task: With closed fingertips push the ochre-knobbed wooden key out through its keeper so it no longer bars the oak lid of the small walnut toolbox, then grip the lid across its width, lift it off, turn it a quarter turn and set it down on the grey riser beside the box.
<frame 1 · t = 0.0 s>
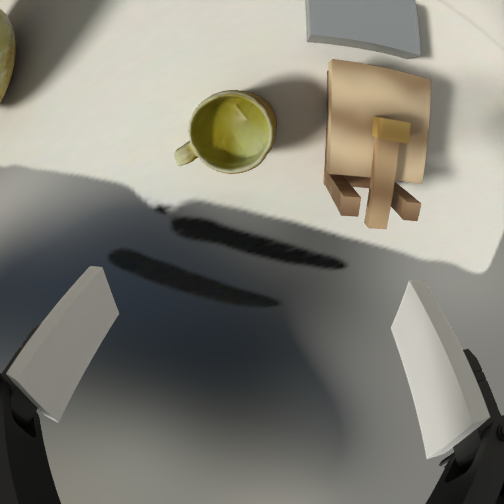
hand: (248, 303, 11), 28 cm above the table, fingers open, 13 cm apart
riser: (358, 20, 23), on the table
speckled ball: (3, 69, 26), on the table
toolbox: (360, 117, 31), on the table
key: (385, 176, 24), point 11 cm above the table, slide at 0.0 cm
lid: (377, 121, 25), point 7 cm above the table, touching toolbox
mug: (230, 130, 34), on the table
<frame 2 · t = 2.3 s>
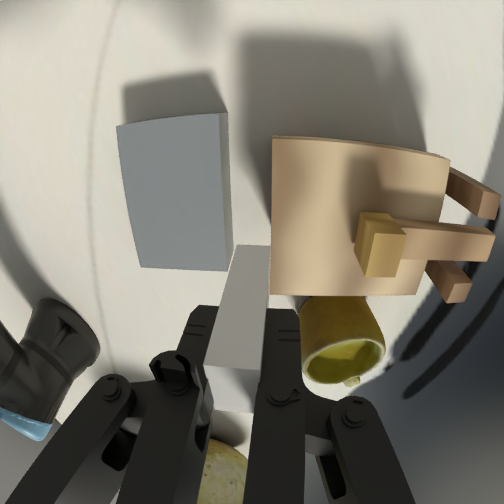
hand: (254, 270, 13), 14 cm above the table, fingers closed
riser: (185, 186, 26), on the table
speckled ball: (208, 440, 59), on the table
toolbox: (336, 188, 25), on the table
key: (439, 246, 15), point 11 cm above the table, slide at 0.0 cm
lid: (354, 217, 19), point 7 cm above the table, touching toolbox
mug: (335, 320, 33), on the table
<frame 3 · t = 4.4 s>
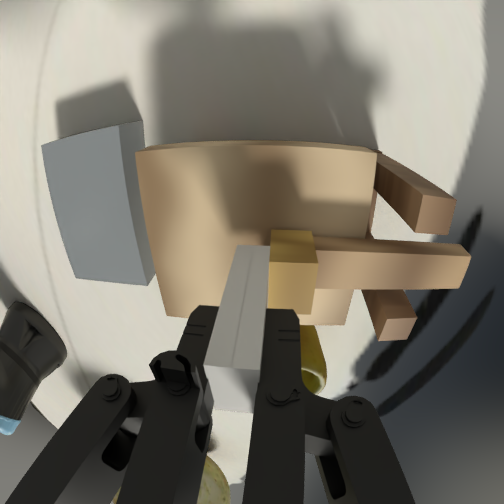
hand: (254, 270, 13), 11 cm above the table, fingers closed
riser: (111, 198, 24), on the table
speckled ball: (180, 444, 57), on the table
toolbox: (262, 195, 22), on the table
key: (383, 273, 13), point 11 cm above the table, slide at 1.5 cm, touching gripper
lid: (255, 232, 16), point 7 cm above the table, touching toolbox
mug: (282, 337, 31), on the table
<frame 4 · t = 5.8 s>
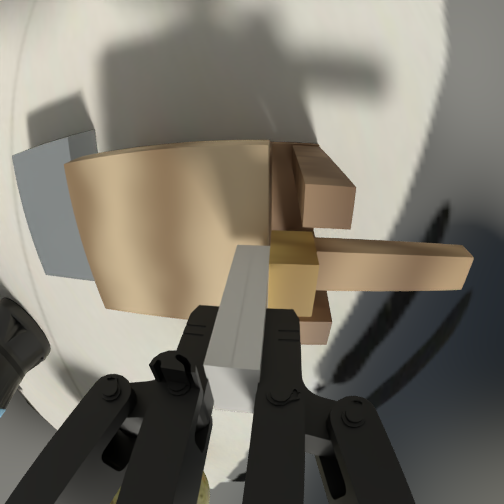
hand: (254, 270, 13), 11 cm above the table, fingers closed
riser: (73, 201, 24), on the table
speckled ball: (163, 440, 58), on the table
toolbox: (200, 195, 23), on the table
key: (385, 274, 12), point 11 cm above the table, slide at 6.7 cm, touching gripper
lid: (172, 231, 17), point 7 cm above the table, touching toolbox
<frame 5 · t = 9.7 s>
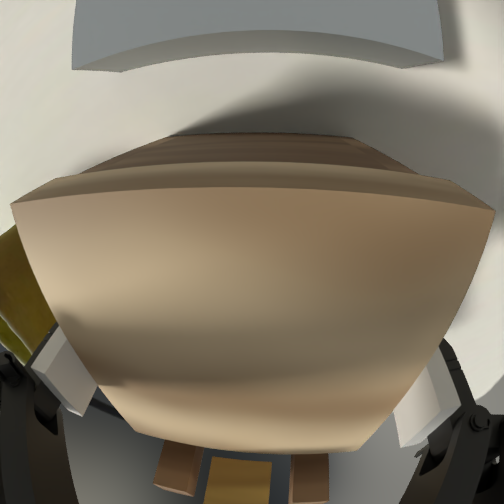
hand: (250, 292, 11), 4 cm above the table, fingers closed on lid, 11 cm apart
toolbox: (258, 245, 15), on the table
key: (243, 499, 12), point 11 cm above the table, slide at 6.7 cm
lid: (242, 345, 9), point 7 cm above the table, touching gripper, toolbox
mug: (50, 264, 18), on the table
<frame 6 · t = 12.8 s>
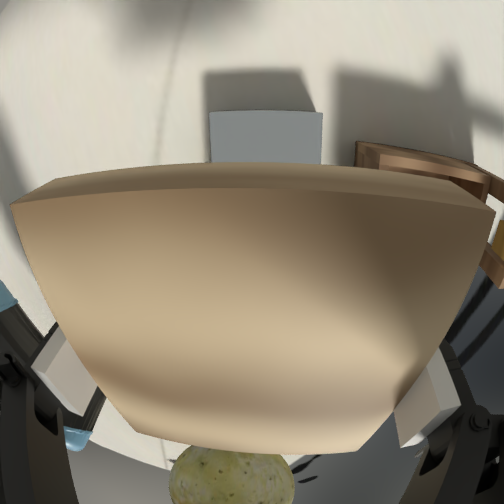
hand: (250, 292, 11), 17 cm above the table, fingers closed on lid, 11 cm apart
riser: (267, 180, 26), on the table
speckled ball: (238, 437, 60), on the table
toolbox: (404, 190, 25), on the table
lid: (242, 345, 9), point 20 cm above the table, touching gripper
when the fingers open (2 cm above the table, at t = 16.0 s): lid stays where it is, resting on riser.
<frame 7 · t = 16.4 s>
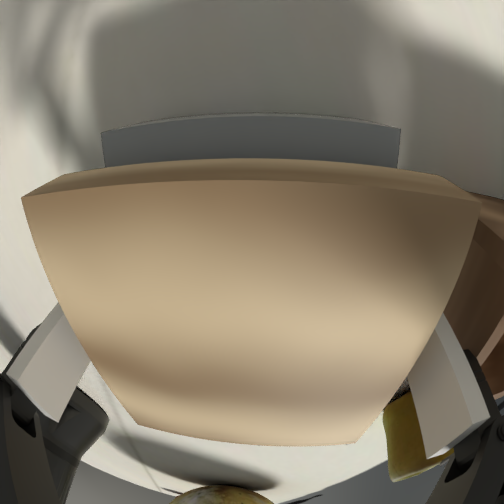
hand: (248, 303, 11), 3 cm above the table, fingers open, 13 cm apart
riser: (255, 260, 14), on the table
speckled ball: (231, 485, 47), on the table
toolbox: (484, 266, 12), on the table
lid: (242, 335, 9), point 5 cm above the table, touching riser
mug: (420, 402, 21), on the table
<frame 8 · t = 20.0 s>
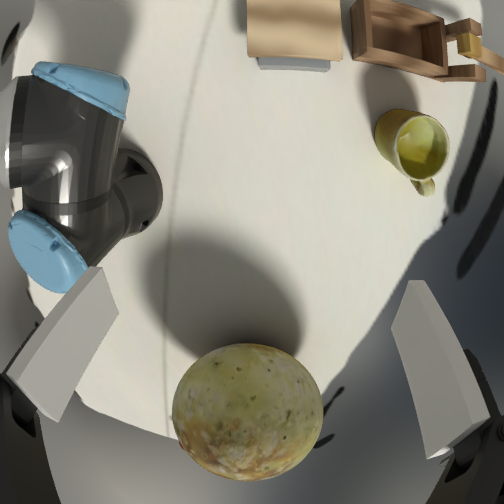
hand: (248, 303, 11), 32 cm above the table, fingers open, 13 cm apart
riser: (292, 27, 28), on the table
speckled ball: (254, 357, 61), on the table
toolbox: (389, 41, 27), on the table
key: (493, 58, 16), point 11 cm above the table, slide at 6.7 cm
lid: (293, 17, 24), point 5 cm above the table, touching riser
mug: (401, 147, 35), on the table
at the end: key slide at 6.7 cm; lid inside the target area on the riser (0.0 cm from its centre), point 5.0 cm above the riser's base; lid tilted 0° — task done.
